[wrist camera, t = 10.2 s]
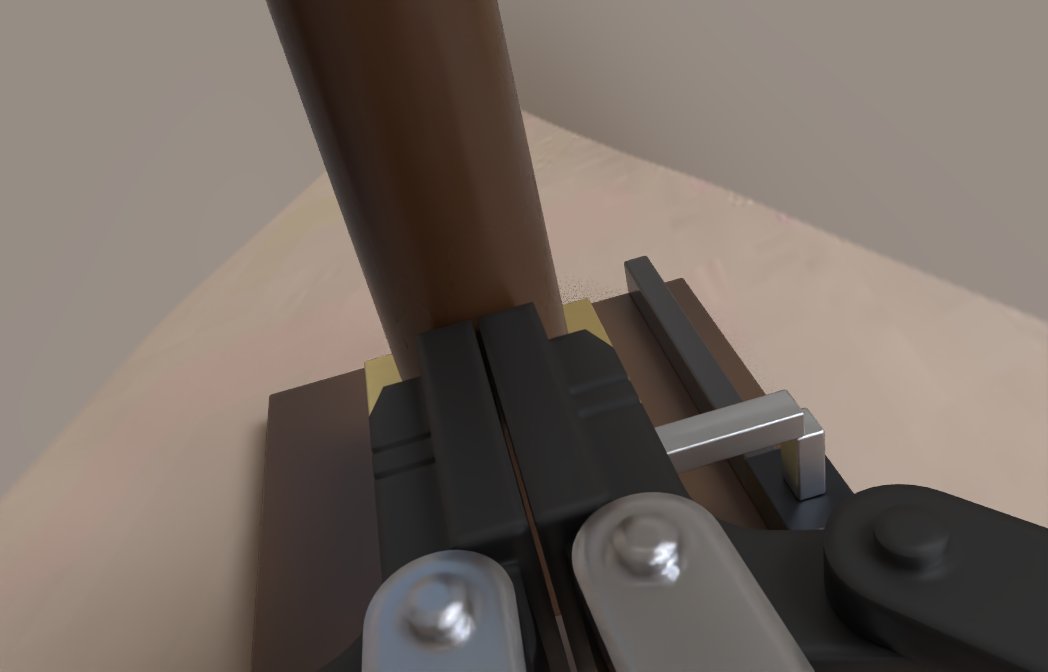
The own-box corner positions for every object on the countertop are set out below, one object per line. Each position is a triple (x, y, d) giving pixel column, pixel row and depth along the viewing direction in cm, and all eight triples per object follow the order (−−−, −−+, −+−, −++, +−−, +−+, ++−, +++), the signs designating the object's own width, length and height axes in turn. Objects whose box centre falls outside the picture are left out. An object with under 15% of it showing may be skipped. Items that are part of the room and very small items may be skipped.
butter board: (257, 1101, 15) (119, 983, 12) (284, 428, 30) (226, 304, 27) (1045, 845, 16) (1091, 676, 13) (687, 313, 30) (671, 180, 28)
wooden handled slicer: (537, 780, 16) (175, -205, 7) (487, 551, 21) (228, -221, 12) (924, 660, 17) (1021, -417, 8) (789, 461, 21) (754, -351, 12)
